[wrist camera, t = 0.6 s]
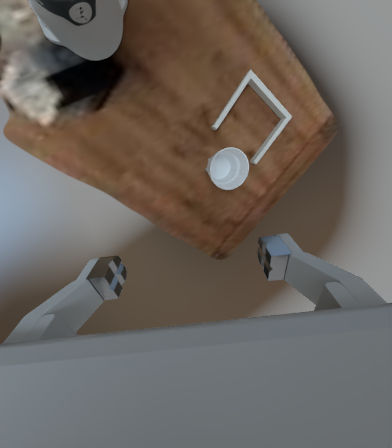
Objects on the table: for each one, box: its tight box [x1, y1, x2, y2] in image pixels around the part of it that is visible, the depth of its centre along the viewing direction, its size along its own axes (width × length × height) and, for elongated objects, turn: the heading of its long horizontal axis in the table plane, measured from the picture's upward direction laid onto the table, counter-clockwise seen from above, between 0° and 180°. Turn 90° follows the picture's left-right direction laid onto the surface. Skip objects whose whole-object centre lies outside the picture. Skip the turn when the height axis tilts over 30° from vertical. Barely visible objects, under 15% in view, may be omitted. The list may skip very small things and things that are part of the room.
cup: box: [205, 147, 249, 190], centre depth 47 cm, size 10×10×10 cm
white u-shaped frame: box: [211, 70, 292, 164], centre depth 47 cm, size 15×16×2 cm
